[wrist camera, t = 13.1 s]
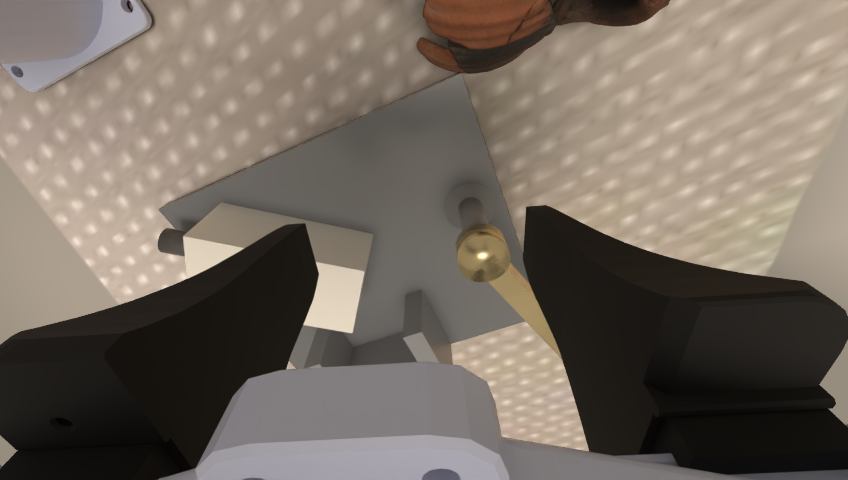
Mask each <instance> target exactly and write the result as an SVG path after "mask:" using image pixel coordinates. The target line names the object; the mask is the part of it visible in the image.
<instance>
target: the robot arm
mask: <svg viewBox="0 0 848 480" xmlns="http://www.w3.org/2000/svg"><path fill="white" fill-rule="evenodd" d="M127 1H128V0H0V65H2V67H3V68H4V69H5V70H6V71H7V72H8V73H9V74H10V75H11V76H12V78H13V79H14V80H15V81H16V82H17V83H18V84H19V85H20V86H21V87H22V88H23V89H24V90H26V91H28V92H38V91H42V90H43V89H45V88H47V87H49V86H50V85H52V84H54V83H56V82H57V81H59V80H61V79H63V78H64V77H66V76H68V75H70V74H71V73H73V72H75V71H77V70H78V69H80V68H82V67H83V66H85V65H87V64H89V63H90V62H92V61H94V60H96V59H97V58H99V57H101V56H103V55H104V54H106V53H108V52H110V51H111V50H113V49H115V48H116V47H118V46H120V45H122V44H123V43H125V42H127V41H129V40H130V39H132V38H134V37H136V36H137V35H139V34H141V33H143V32H144V31H146V30H148V29H149V28H150V27H151V23H152V21H151V17H150V15H149V13H148V11H147V10H146V9H145V7H144V6H143V4H142V3H141V1H140V0H129V1H130V2H131V3H132V5H133V11H132V12H131V11H130V10H129V9H128V7H127ZM19 68H20V69H21V70H22V72H23V74H21V72H20V71H19ZM523 263H524V266H525V270H526V274H527V277H528V280H529V284H530V286H531V289H532V291H533V293H534V295H535V298H536V300H537V302H538V304H539V306H540V308H541V311H542V313H543V315H544V317H545V319H546V321H547V324H548V326H549V328H550V330H551V332H552V334H553V337H554V339H555V341H556V344H557V346H558V349H559V351H560V354H561V357H562V360H563V364H564V367H565V370H566V373H567V376H568V379H569V382H570V385H571V389H572V392H573V395H574V399H575V402H576V405H577V409H578V412H579V416H580V419H581V423H582V426H583V430H584V434H585V437H586V441H587V444H588V448H589V452H588V451H582V450H576V449H570V448H565V447H559V446H553V445H547V444H541V443H535V442H529V441H523V440H517V439H511V438H505V437H502V436H501V430H500V425H499V420H498V415H497V409H496V404H495V401H494V398H493V396H492V393H491V391H490V389H489V386H488V384H487V382H486V381H485V380H483V379H481V378H480V377H478V376H477V375H475V374H473V373H472V372H470V371H468V370H467V369H465V368H464V367H462V366H459V365H452V364H444V363H436V362H428V361H426V362H409V363H392V364H375V365H357V366H340V367H323V368H306V369H288V370H286V367H287V364H288V362H289V359H290V356H291V353H292V351H293V348H294V346H295V344H296V341H297V339H298V336H299V334H300V331H301V329H302V327H303V324H304V322H305V319H306V317H307V314H308V312H309V309H310V307H311V304H312V302H313V299H314V295H315V291H316V287H317V282H318V277H319V272H318V268H317V265H316V261H315V257H314V254H313V250H312V246H311V243H310V239H309V235H308V232H307V228H306V224H305V223H299V224H287V225H284V226H282V227H280V228H278V229H276V230H274V231H272V232H271V233H269V234H267V235H266V236H264V237H262V238H261V239H259V240H257V241H256V242H254V243H252V244H251V245H249V246H248V247H246V248H244V249H243V250H241V251H239V252H237V253H236V254H234V255H232V256H230V257H229V258H227V259H225V260H223V261H221V262H220V263H218V264H216V265H214V266H213V267H211V268H209V269H207V270H205V271H203V272H201V273H199V274H197V275H194V276H192V277H190V278H188V279H186V280H184V281H181V282H179V283H177V284H175V285H172V286H170V287H167V288H164V289H162V290H159V291H157V292H154V293H152V294H149V295H146V296H144V297H141V298H139V299H136V300H133V301H130V302H127V303H124V304H121V305H118V306H115V307H112V308H109V309H105V310H102V311H98V312H95V313H92V314H88V315H85V316H81V317H78V318H74V319H70V320H66V321H62V322H58V323H54V324H50V325H46V326H42V327H38V328H34V329H29V330H25V331H21V332H19V333H17V334H15V335H13V336H12V337H10V338H9V339H7V340H6V341H5V342H3V343H2V344H1V345H0V435H1V436H2V437H3V438H4V439H5V440H6V441H7V442H8V443H9V444H11V445H12V446H13V447H14V448H15V449H16V450H18V451H17V452H16V453H15V454H14V455H13V456H12V457H11V458H10V459H9V460H8V461H7V462H6V463H5V464H4V465H3V466H1V465H0V480H848V424H847V425H845V424H843V422H841V421H840V420H839V419H838V418H837V417H836V416H835V415H834V414H833V413H832V412H831V411H830V410H829V409H828V408H833V407H834V406H835V404H836V402H835V399H834V398H833V397H832V396H831V395H830V394H829V393H828V392H827V391H826V390H824V389H823V388H822V387H821V386H820V385H819V384H820V382H821V381H822V380H823V378H824V377H825V375H826V374H827V372H828V371H829V369H830V368H831V366H832V365H833V363H834V362H835V360H836V359H837V358H838V356H839V355H840V353H841V351H842V350H843V348H844V346H845V344H846V342H847V340H848V316H847V314H846V311H845V310H844V309H843V308H841V307H840V306H839V305H838V304H837V303H835V302H834V301H832V300H831V299H830V298H828V297H827V296H825V295H823V294H822V293H821V292H819V291H818V290H816V289H815V288H813V287H812V286H810V285H809V284H807V283H806V282H803V281H797V280H789V279H782V278H774V277H767V276H759V275H751V274H744V273H738V272H733V271H727V270H722V269H717V268H711V267H707V266H702V265H698V264H693V263H689V262H685V261H681V260H678V259H674V258H670V257H666V256H663V255H659V254H656V253H653V252H650V251H647V250H644V249H641V248H638V247H635V246H632V245H630V244H627V243H624V242H622V241H619V240H617V239H615V238H612V237H610V236H608V235H606V234H603V233H601V232H599V231H597V230H595V229H593V228H591V227H589V226H587V225H585V224H583V223H581V222H579V221H577V220H575V219H573V218H571V217H569V216H567V215H565V214H564V213H562V212H560V211H558V210H556V209H554V208H551V207H549V206H546V205H544V206H531V207H526V221H525V236H524V252H523Z"/></svg>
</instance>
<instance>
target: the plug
mask: <svg viewBox="0 0 848 480" xmlns="http://www.w3.org/2000/svg"><path fill="white" fill-rule="evenodd" d="M299 223H305V224H306V228H307V232H308V235H309V239H310V243H311V246H312V250H313V254H314V257H315V261H316V265H317V268H318V272H319V277H318V282H317V287H316V291H315V295H314V299H313V302H312V304H311V307H310V309H309V312H308V314H307V317H306V319H305V322H304V324H303V325H306V326H312V327H318V328H324V329H330V330H335V331H341V332H347V333H353V329H354V325H355V320H356V316H357V311H358V307H359V303H360V298H361V294H362V289H363V284H364V279H365V274H366V269H367V264H368V259H369V254H370V249H371V244H372V239H373V234H371V233H367V232H362V231H357V230H352V229H347V228H342V227H338V226H333V225H328V224H323V223H318V222H313V221H309V220H304V219H299V218H294V217H289V216H284V215H279V214H275V213H270V212H265V211H260V210H255V209H250V208H246V207H241V206H236V205H231V204H226V203H220V204H219V205H218V206H217V207H216V208H215V209H213V210H212V211H211V212H210V213H209V214H208V215H207V216H205V217H204V218H203V219H202V220H201V221H200V222H199V223H197V224H196V225H195V226H194V227H193V228H192V229H191V230H189V231H188V232H185V231H180V230H175V229H170V228H167V229H165V230H163V232H162V233H161V234H160V237H159V240H158V249H159V251H160V252H163V253H168V254H174V255H179V256H184V257H185V263H186V273H187V279H188V278H190V277H192V276H194V275H197V274H199V273H201V272H203V271H205V270H207V269H209V268H211V267H213V266H214V265H216V264H218V263H220V262H221V261H223V260H225V259H227V258H229V257H230V256H232V255H234V254H236V253H237V252H239V251H241V250H243V249H244V248H246V247H248V246H249V245H251V244H252V243H254V242H256V241H257V240H259V239H261V238H262V237H264V236H266V235H267V234H269V233H271V232H272V231H274V230H276V229H278V228H280V227H282V226H284V225H287V224H299Z"/></svg>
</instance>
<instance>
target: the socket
mask: <svg viewBox="0 0 848 480" xmlns="http://www.w3.org/2000/svg"><path fill="white" fill-rule="evenodd" d="M220 203H226V204H231V205H236V206H241V207H246V208H250V209H255V210H260V211H265V212H270V213H275V214H279V215H284V216H289V217H294V218H299V219H304V220H309V221H313V222H318V223H323V224H328V225H333V226H338V227H342V228H347V229H352V230H357V231H362V232H367V233H371V234H373V239H372V244H371V249H370V254H369V259H368V264H367V269H366V274H365V279H364V284H363V289H362V294H361V298H360V303H359V307H358V311H357V316H356V320H355V325H354V329H353V333H347V332H341V331H335V330H330V329H324V328H318V327H312V326H306V325H303V327H302V329H301V331H300V334H299V336H298V339H297V341H296V344H295V346H294V348H293V351H292V353H291V356H290V359H289V361H290V362H291V363H292V364H293V366H294V367H295V368H296V369H306V368H323V367H340V366H357V365H375V364H392V363H409V362H426V361H428V362H436V363H444V364H452V365H453V363H452V352H451V344H452V343H455V342H458V341H462V340H465V339H468V338H472V337H475V336H478V335H481V334H485V333H488V332H491V331H495V330H498V329H501V328H505V327H508V326H511V325H514V324H518V323H521V322H524V321H525V320H524V319H523V318H522V317H521V316H520V315H519V314H518V313H517V312H516V311H515V309H514V308H513V307H512V306H511V305H510V304H509V303H508V302H507V301H506V300H505V299H504V298H503V297H502V296H501V295H500V294H499V293H498V292H497V291H496V290H495V289H494V287H493V286H492V285H491V284H490V283H489V282H475V281H472V280H470V279H468V278H466V277H465V276H464V275H463V274H462V273H461V272H460V270H459V267H458V262H457V255H456V248H455V243H456V240H457V237H458V235H459V234H460V233H461V232H462V231H463V230H464V229H465V228H467V227H469V226H471V225H473V224H478V223H486V224H490V225H493V226H495V227H496V228H498V229H499V230H500V231H501V233H502V234H503V236H504V239H505V241H506V244H507V247H508V249H509V252H510V256H511V261H510V263H511V264H512V265H513V266H514V267H515V268H516V269H517V271H518V272H519V273H520V274H521V275H522V276H523V277H524V278H525V280H526V281H527V282H528V283H529V280H528V277H527V274H526V270H525V266H524V263H523V253H522V250H521V247H520V244H519V241H518V239H517V236H516V233H515V230H514V227H513V224H512V221H511V218H510V215H509V212H508V209H507V206H506V203H505V200H504V197H503V194H502V191H501V188H500V185H499V183H498V180H497V177H496V174H495V171H494V168H493V165H492V162H491V159H490V156H489V153H488V150H487V147H486V144H485V141H484V138H483V135H482V132H481V129H480V127H479V124H478V121H477V118H476V115H475V112H474V109H473V106H472V103H471V100H470V97H469V94H468V91H467V88H466V85H465V82H464V79H463V76H462V73H461V72H458V73H456V74H454V75H452V76H450V77H447V78H445V79H443V80H441V81H439V82H436V83H434V84H432V85H430V86H427V87H425V88H423V89H421V90H419V91H416V92H414V93H412V94H410V95H408V96H405V97H403V98H401V99H399V100H397V101H394V102H392V103H390V104H388V105H385V106H383V107H381V108H379V109H377V110H374V111H372V112H370V113H368V114H366V115H363V116H361V117H359V118H357V119H355V120H352V121H350V122H348V123H346V124H343V125H341V126H339V127H337V128H335V129H332V130H330V131H328V132H326V133H324V134H321V135H319V136H317V137H315V138H312V139H310V140H308V141H306V142H304V143H301V144H299V145H297V146H295V147H293V148H290V149H288V150H286V151H284V152H282V153H279V154H277V155H275V156H273V157H270V158H268V159H266V160H264V161H262V162H259V163H257V164H255V165H253V166H251V167H248V168H246V169H244V170H242V171H240V172H237V173H235V174H233V175H231V176H228V177H226V178H224V179H222V180H220V181H217V182H215V183H213V184H211V185H209V186H206V187H204V188H202V189H200V190H198V191H195V192H193V193H191V194H189V195H186V196H184V197H182V198H180V199H178V200H175V201H173V202H171V203H169V204H167V205H164V206H163V207H162V208H160V209H159V211H160V212H161V213H162V214H163V215H164V216H165V218H166V219H167V220H168V221H169V222H170V223H171V224H172V226H173V227H174V228H175V229H176V230H180V231H185V232H188V231H189V230H191V229H192V228H193V227H194V226H195V225H196V224H197V223H199V222H200V221H201V220H202V219H203V218H204V217H205V216H207V215H208V214H209V213H210V212H211V211H212V210H213V209H215V208H216V207H217V206H218V205H219V204H220Z"/></svg>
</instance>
